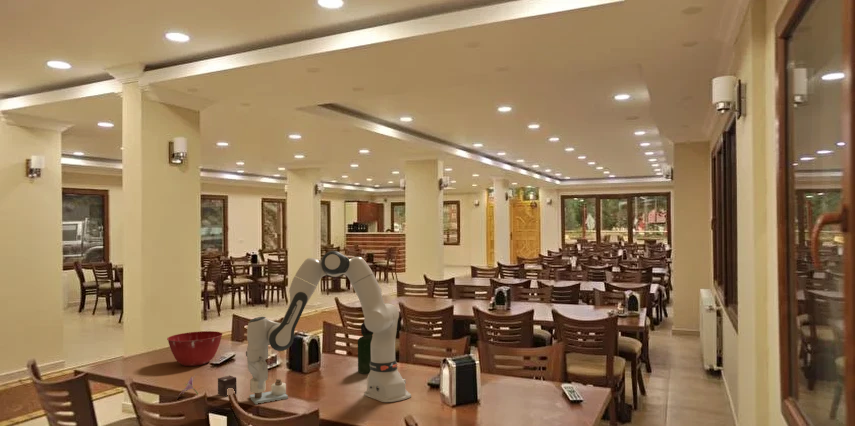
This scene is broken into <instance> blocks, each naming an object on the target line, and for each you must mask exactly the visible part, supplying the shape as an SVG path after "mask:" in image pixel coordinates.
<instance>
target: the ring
mask: <svg viewBox="0 0 855 426" xmlns="http://www.w3.org/2000/svg"><path fill="white" fill-rule="evenodd" d="M266 381H267V380H266ZM266 381H264V382H263V388H262V389H258V379H257V378H253V377H252V378H251V379H250V380H249V384H250V385H249V388H250V390H249V391H250V393H252V394H255V393H260V392H262V393H264V392H266V390H267V389H266V388H267V387H266V386H267V385H266Z"/></svg>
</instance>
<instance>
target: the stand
mask: <svg viewBox="0 0 855 426" xmlns="http://www.w3.org/2000/svg"><path fill="white" fill-rule="evenodd" d="M270 387H271V390H270V391H264V392H260V393H252V394H249V395H248V397H250V398H251V399H250V398H249V399H250V400H251V401H252V403H253V404H255V405H259V404H258V403H261V404H265V403H264V402H267V403H270V401H272V402H276V401H275V400H277V401H282V400H281V399H283V400H287V399H289V395H288V394H286V393H287V383H285V382H283V381H282V379H281V378H277V379H276V380H275V382H273V383H272V384H271V385H270Z"/></svg>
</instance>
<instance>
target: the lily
mask: <svg viewBox="0 0 855 426" xmlns="http://www.w3.org/2000/svg"><path fill="white" fill-rule="evenodd" d="M196 376H197V374H195V375H194V376H191V377H190V379H189V380H188V381H187V383H184V384H183V385H184V386H186V387H185V388H184V389H182V390H181V392H180V393H179V394H178V396H177V398H179V397H180V395H181V394H183V395H184V394H185V392H186V391H188V390H194V392H195V393H196V394H197V395H198V394H199V393H198V391H197V390H196V389H195V388H194V387H193V386H194V385H193V382H194V378H195V377H196Z"/></svg>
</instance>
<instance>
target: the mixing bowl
mask: <svg viewBox="0 0 855 426" xmlns="http://www.w3.org/2000/svg"><path fill="white" fill-rule="evenodd" d="M222 336H223V332H221V331H211V330H205V331H201V330H200V331H191V332H184V333H177V334H173V335H171V336H169V337H168V336H167V342H168V345H169V348H170V351H171V353H172V356H173V357H174V360H176V361H177V362H178V364H180V365H182V366H183V367H195V366H196V367H197V366H202V365H206V364H208V363H209V362H210V361H212V360H213V359H214V357H215V355H216V353H217V351H218V349H219V346H220V344H221V340H222Z"/></svg>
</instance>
